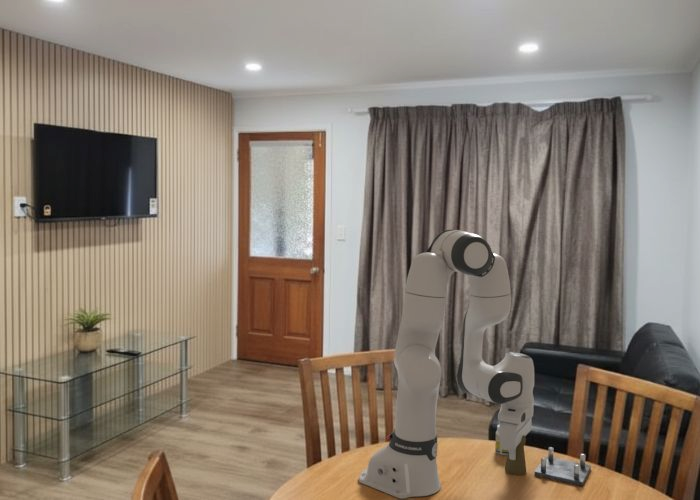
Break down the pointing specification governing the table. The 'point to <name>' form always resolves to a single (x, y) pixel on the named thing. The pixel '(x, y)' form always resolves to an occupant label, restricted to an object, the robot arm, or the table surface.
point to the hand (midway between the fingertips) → (516, 455)
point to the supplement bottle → (498, 447)
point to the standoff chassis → (563, 469)
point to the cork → (517, 460)
